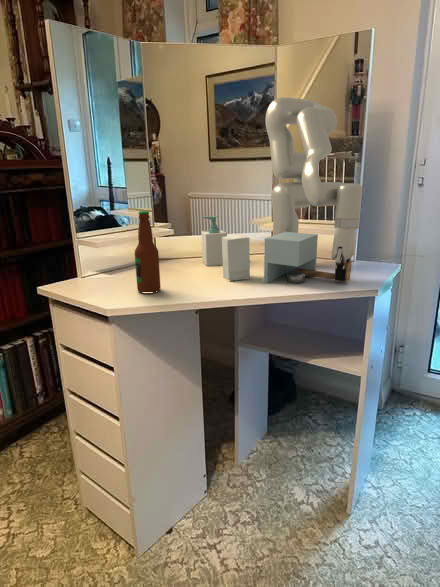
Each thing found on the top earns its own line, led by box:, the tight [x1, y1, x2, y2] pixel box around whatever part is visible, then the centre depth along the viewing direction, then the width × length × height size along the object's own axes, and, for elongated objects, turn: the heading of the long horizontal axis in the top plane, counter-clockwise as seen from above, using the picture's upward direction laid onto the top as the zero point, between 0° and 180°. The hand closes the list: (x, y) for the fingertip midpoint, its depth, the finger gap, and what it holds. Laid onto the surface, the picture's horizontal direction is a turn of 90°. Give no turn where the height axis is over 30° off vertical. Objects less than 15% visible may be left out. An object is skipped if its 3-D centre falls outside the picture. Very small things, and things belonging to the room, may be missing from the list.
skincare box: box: [222, 234, 251, 281], centre depth 140 cm, size 8×6×15 cm
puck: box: [286, 271, 306, 285], centre depth 137 cm, size 6×6×3 cm
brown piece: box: [294, 261, 352, 283], centre depth 138 cm, size 19×4×6 cm, turn 57°
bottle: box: [134, 210, 162, 293], centre depth 126 cm, size 7×7×25 cm
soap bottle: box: [201, 215, 228, 267], centre depth 163 cm, size 9×9×19 cm
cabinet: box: [263, 232, 319, 284], centre depth 137 cm, size 12×16×15 cm
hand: (342, 278), depth 135 cm, fingers closed on brown piece, 4 cm apart
